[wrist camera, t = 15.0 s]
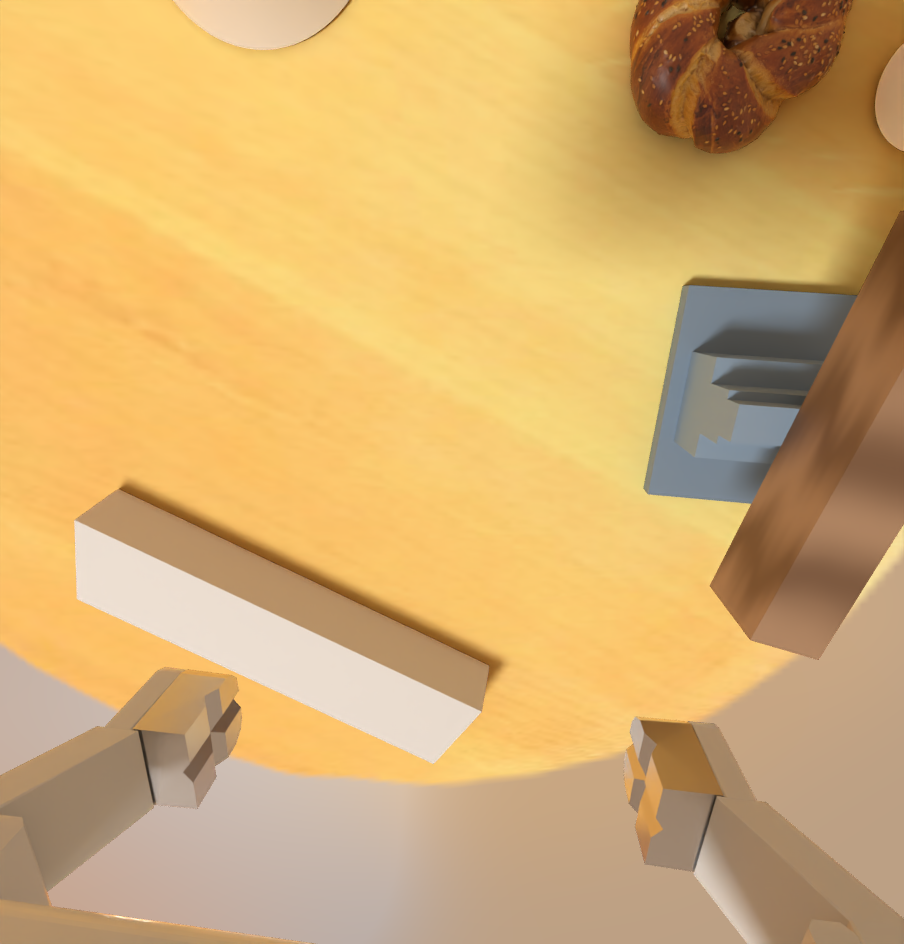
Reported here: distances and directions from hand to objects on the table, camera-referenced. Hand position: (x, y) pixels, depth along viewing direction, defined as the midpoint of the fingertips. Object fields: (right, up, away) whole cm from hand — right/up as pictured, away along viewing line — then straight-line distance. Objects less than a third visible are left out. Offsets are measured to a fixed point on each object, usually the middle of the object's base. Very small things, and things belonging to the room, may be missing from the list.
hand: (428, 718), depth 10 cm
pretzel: (+16, +30, +19) cm, 39 cm away
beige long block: (-14, -8, +34) cm, 38 cm away
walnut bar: (+20, +7, +15) cm, 26 cm away
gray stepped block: (+20, +10, +24) cm, 33 cm away
